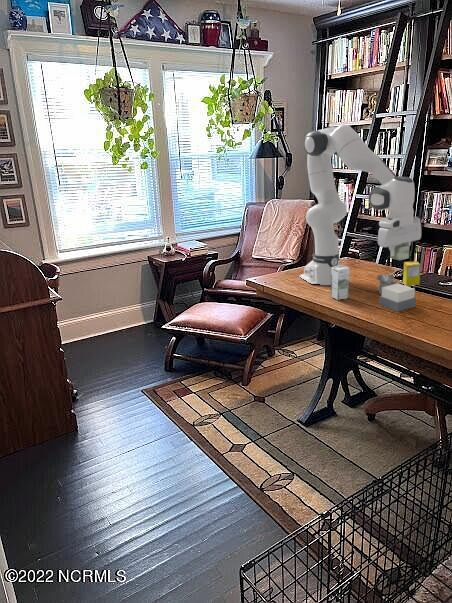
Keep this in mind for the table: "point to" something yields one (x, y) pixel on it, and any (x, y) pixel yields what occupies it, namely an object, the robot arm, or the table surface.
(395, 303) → the tower base block
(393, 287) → the tower top block
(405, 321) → the table surface
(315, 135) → the robot arm
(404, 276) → the supplement box
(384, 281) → the elephant statuette
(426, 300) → the table surface
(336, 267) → the syrup box
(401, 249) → the sage cube
